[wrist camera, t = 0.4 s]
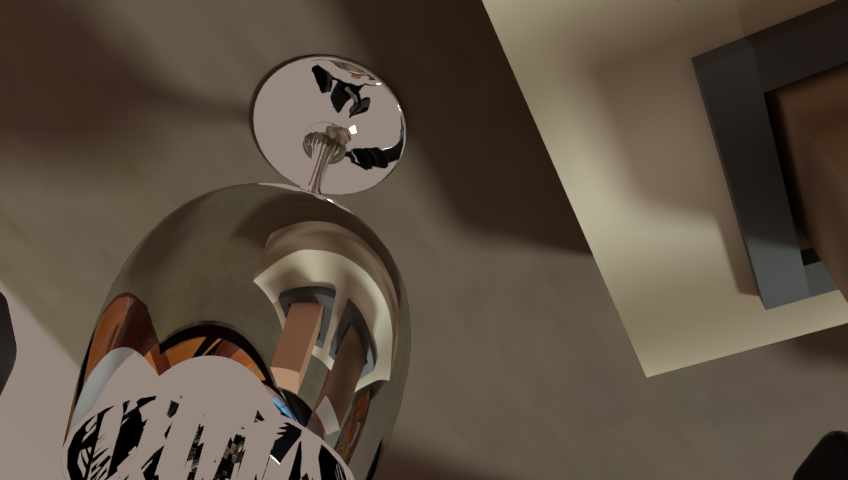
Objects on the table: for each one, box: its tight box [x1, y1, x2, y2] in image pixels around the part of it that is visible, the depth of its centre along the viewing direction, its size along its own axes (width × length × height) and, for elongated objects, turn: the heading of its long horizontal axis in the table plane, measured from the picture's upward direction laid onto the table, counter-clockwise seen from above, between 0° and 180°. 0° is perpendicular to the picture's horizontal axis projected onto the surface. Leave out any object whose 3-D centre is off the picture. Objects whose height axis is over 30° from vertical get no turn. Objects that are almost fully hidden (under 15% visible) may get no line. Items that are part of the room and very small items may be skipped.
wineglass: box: [61, 55, 411, 480], centre depth 16 cm, size 6×6×12 cm
